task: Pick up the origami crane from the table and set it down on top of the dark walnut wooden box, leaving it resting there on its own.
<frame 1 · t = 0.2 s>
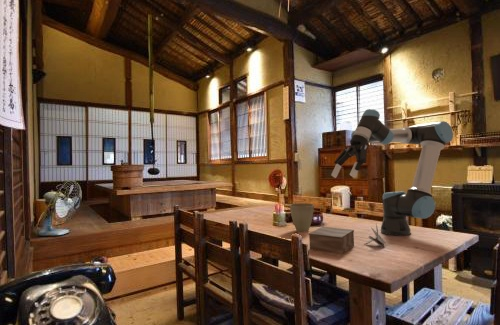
hand: (342, 176, 136), 35 cm above the table, tool tilted 35°, fingers open, 13 cm apart
origami crane: (374, 246, 143), on the table
plant pot: (302, 231, 180), on the table
walnut box: (332, 247, 144), on the table
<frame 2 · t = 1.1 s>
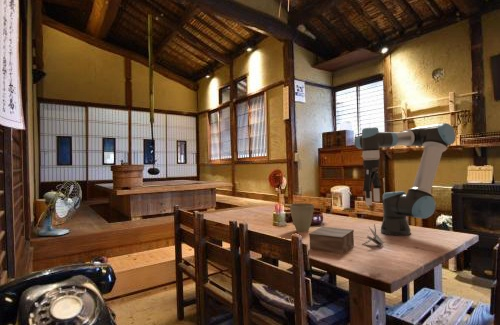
hand: (373, 203, 142), 21 cm above the table, tool pointing down, fingers open, 13 cm apart
nothing on the table moved.
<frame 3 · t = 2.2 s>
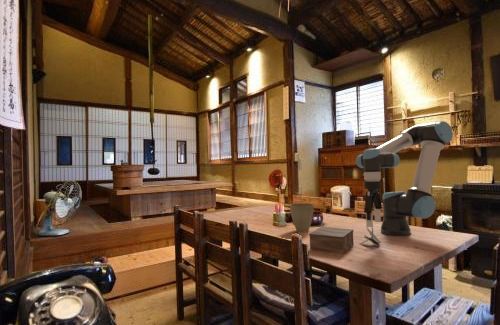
hand: (373, 224, 142), 11 cm above the table, tool pointing down, fingers open, 13 cm apart
origami crane: (369, 245, 144), on the table
everything else where it was.
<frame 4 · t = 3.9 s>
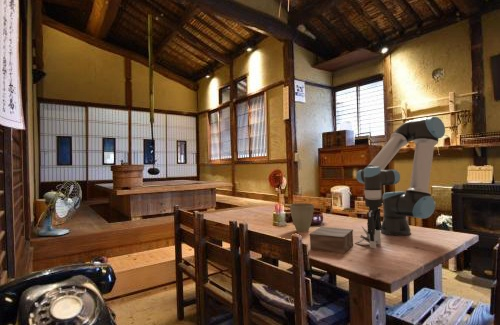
hand: (375, 245, 142), 0 cm above the table, tool pointing down, fingers open, 7 cm apart
origami crane: (365, 245, 145), on the table, touching gripper
everything else where it was.
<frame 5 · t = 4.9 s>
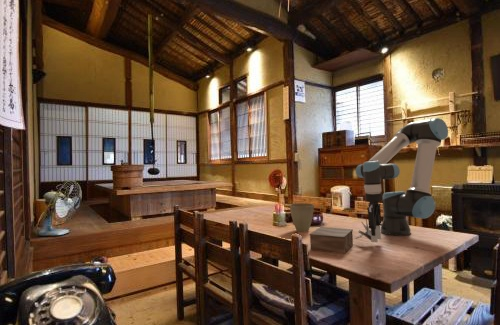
hand: (376, 240, 143), 3 cm above the table, tool pointing down, fingers closed on origami crane, 5 cm apart
origami crane: (364, 240, 145), point 2 cm above the table, touching gripper
everything else where it was.
when the fingers open (10 cm above the table, at t = 9.8 s): origami crane drops 2 cm, resting on walnut box.
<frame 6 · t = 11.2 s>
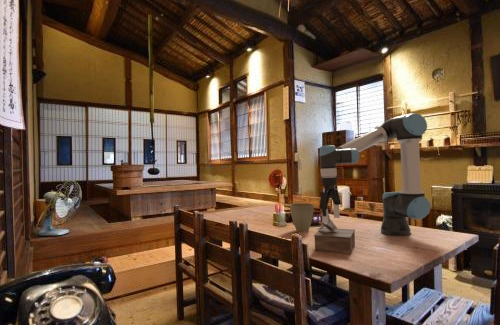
hand: (331, 220, 144), 13 cm above the table, tool pointing down, fingers open, 13 cm apart
origami crane: (325, 231, 145), point 7 cm above the table, touching walnut box
walnut box: (335, 248, 142), on the table, touching origami crane
everything else where it was.
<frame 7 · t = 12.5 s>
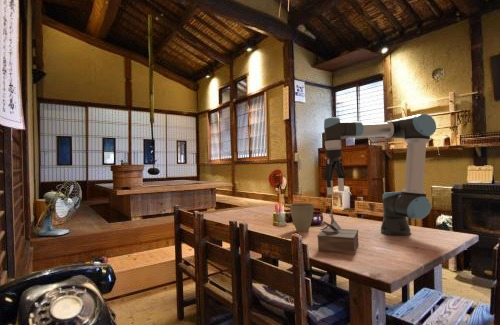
hand: (336, 192, 144), 27 cm above the table, tool pointing down, fingers open, 13 cm apart
origami crane: (329, 232, 144), point 7 cm above the table, touching walnut box
walnut box: (339, 249, 141), on the table, touching origami crane
everything else where it was.
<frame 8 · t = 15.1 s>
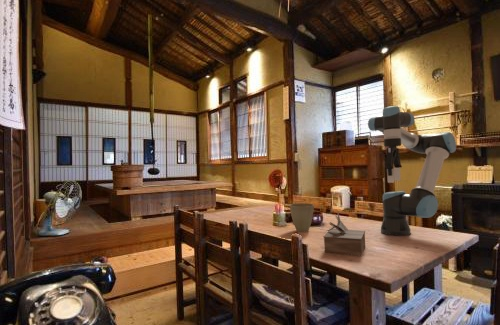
hand: (394, 181, 144), 31 cm above the table, tool pointing down, fingers open, 13 cm apart
origami crane: (335, 233, 141), point 7 cm above the table, touching walnut box
walnut box: (345, 250, 139), on the table, touching origami crane
everything else where it was.
at the end: origami crane inside the target area on the walnut box (4.1 cm from its centre), point 7.8 cm above the walnut box's base; origami crane touching walnut box; the gripper is holding nothing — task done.
